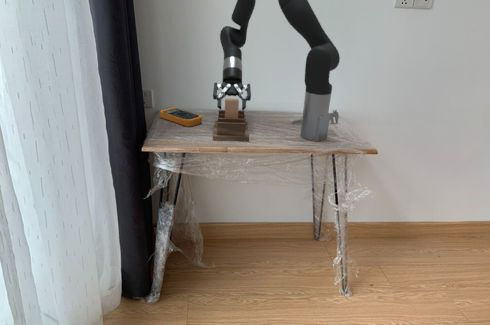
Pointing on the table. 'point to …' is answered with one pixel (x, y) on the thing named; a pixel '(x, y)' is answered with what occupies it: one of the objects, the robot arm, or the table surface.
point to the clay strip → (231, 108)
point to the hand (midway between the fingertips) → (231, 109)
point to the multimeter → (181, 117)
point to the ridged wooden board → (231, 128)
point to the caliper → (334, 114)
